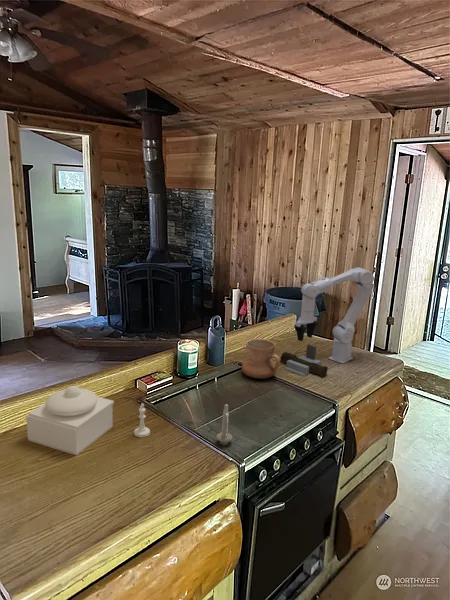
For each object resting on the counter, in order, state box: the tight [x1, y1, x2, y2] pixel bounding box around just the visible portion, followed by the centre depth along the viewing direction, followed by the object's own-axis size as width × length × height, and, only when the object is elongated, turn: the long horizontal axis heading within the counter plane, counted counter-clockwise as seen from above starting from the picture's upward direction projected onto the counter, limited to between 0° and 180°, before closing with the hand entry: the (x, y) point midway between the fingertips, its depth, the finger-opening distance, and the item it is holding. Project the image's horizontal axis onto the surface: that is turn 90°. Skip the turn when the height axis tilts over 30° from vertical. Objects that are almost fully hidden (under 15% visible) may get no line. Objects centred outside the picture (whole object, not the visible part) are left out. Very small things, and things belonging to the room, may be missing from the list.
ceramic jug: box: [241, 338, 281, 380], centre depth 182 cm, size 18×14×14 cm
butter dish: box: [26, 385, 115, 456], centre depth 132 cm, size 18×18×16 cm
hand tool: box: [279, 351, 329, 378], centre depth 193 cm, size 23×5×6 cm, turn 47°
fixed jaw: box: [283, 360, 310, 377], centre depth 189 cm, size 4×10×4 cm, turn 47°
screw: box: [216, 403, 233, 446], centre depth 132 cm, size 13×5×5 cm
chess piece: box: [133, 403, 151, 438], centre depth 135 cm, size 5×5×10 cm
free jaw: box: [296, 343, 322, 366], centre depth 195 cm, size 4×10×10 cm, turn 47°
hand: (304, 338), depth 201 cm, fingers open, 7 cm apart
